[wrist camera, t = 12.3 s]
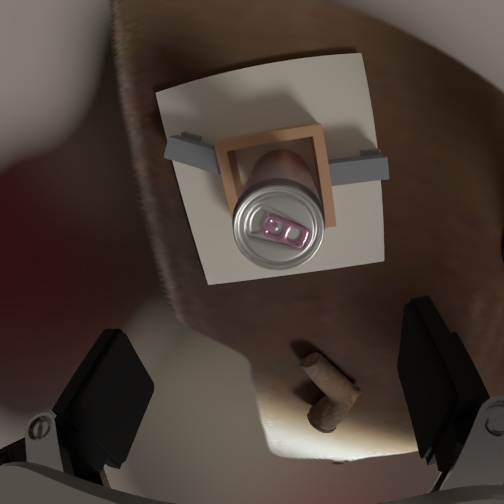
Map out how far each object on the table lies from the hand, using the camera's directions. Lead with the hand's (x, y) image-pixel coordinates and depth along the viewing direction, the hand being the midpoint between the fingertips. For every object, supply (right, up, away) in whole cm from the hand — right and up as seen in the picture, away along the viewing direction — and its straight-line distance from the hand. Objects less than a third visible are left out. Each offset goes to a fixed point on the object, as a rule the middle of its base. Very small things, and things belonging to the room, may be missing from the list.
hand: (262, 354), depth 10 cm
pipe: (+11, -18, +38) cm, 43 cm away
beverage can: (+3, +11, +23) cm, 26 cm away
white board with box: (+3, +12, +23) cm, 26 cm away
